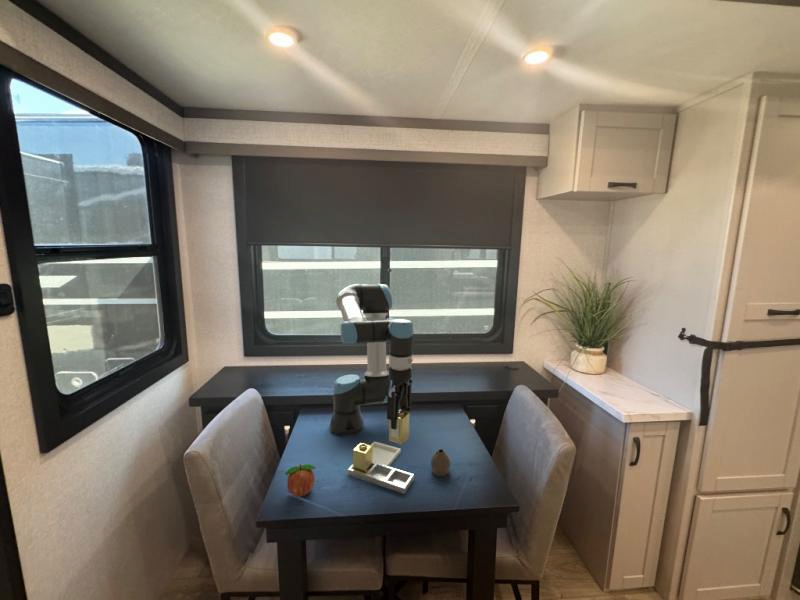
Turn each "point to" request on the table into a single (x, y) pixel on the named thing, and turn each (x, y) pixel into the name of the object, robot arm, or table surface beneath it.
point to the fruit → (300, 480)
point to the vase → (440, 463)
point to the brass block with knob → (362, 457)
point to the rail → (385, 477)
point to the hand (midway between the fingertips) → (399, 432)
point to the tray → (384, 453)
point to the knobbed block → (401, 428)
